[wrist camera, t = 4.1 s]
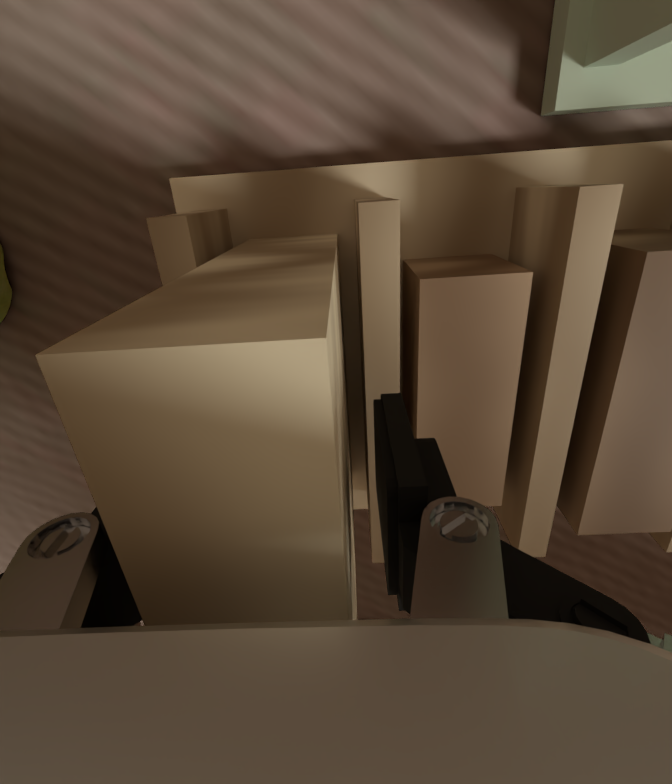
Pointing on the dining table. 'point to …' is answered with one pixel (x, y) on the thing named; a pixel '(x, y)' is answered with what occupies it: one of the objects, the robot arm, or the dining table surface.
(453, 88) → the dining table surface
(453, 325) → the walnut offcut
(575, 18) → the green stand
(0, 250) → the plant pot
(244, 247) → the maple block
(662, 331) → the walnut offcut
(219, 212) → the offcut rack
